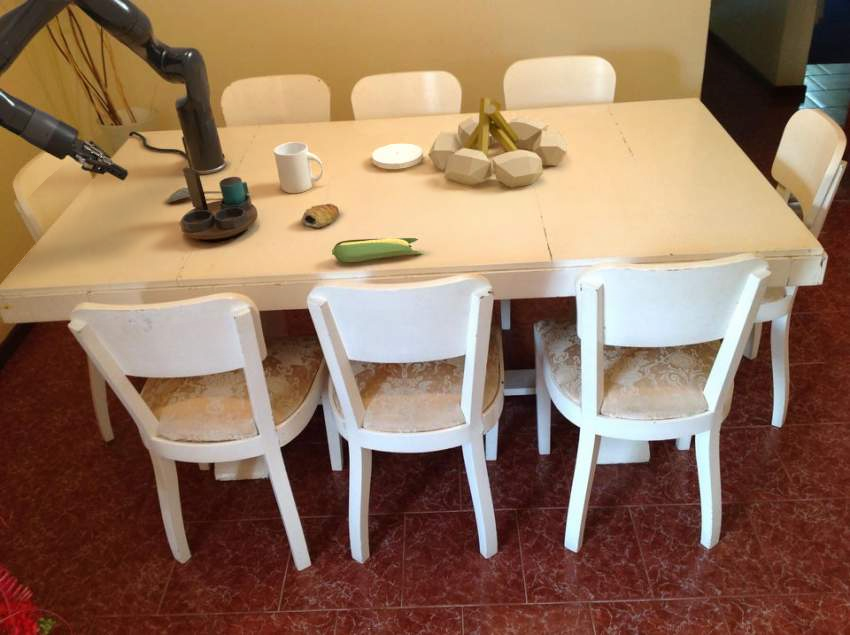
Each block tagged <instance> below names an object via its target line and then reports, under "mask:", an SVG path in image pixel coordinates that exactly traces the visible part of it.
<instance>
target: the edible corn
mask: <svg viewBox="0 0 850 635" xmlns="http://www.w3.org/2000/svg"><path fill="white" fill-rule="evenodd" d="M418 240H419V238H415V237H393V238H364V239H363V238H362V239H348V240H342V241H339V242H337V243H336V244H335V245H334V246H333V249H331V254H332V255H331V256H334V257H335V259H336V260H338V261H339V262H340V263H343V264H354V263H360V262H361V263H362V262H368V261H374V260H380V259H386V258H394V257H395V258H396V257H401V256H402V257H403V256H411V255H420V254H424V253H425V251H424V250H413V246H412V245H410V244H412V243H415V242H416V241H417V242H418Z"/></svg>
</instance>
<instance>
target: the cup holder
mask: <svg viewBox="0 0 850 635" xmlns="http://www.w3.org/2000/svg"><path fill="white" fill-rule="evenodd" d="M182 173H183V176H184V179H185V182H186V183H185V184H186V186H187V187H186V188H188V190H189V194H190V196H189V197H190V201H191V204H192V207H193V209H190V210H189V211H187V212H186V213H185V214H184V215H183V216H181V219H180V222H179V227H180V229H181V232H182V234H184V235H185V236H187V237H189V238H192V239H196V240H198V239H217V238H223V237H227V236H231V235H234V234H237V233H239V232H241V231H243V230H245V229H247V228H248V227H249V228H250V227H252V226H253V225H254V223H255V222H256V221H257V219H258V216H259V215H258V209H257V207H256V206H255V205H254V204H253V203H252V199H251V196H248V195H246V194H247V193H249V192H250V191H249V187H248V184H247V181H243V180H242V177H239V176H229V177H225V178H222V179H221V180H220V181H219V183H218V184H219V188H220V191H221V192H222V193H221V195H222V198H221V199H220V200H215V201H211V202H207V199H206V194H204V192H205V190H204V187H203V184H202V180H201V177H200V174H199V172H198V171H195V170H193V169H190V167H189V166H188V167H187V166H185V167H183V168H182ZM249 228H248V229H249Z"/></svg>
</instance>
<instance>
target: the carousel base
mask: <svg viewBox="0 0 850 635" xmlns="http://www.w3.org/2000/svg"><path fill="white" fill-rule="evenodd" d="M249 228H250V227H248V228H247V229H245V230H243V231H241V232H239V233H237V234H234V235H231V236H227V237H223V238H217V239H197V240H198V241H200V242H203V243H209V244H215V243H216V244H217V243H224V242H228V241H231V240H235V239H237V238H239V237H241V236H242V235H243V234H245V233H246V232H247V231H248V230H249Z"/></svg>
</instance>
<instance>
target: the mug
mask: <svg viewBox="0 0 850 635" xmlns="http://www.w3.org/2000/svg"><path fill="white" fill-rule="evenodd" d="M273 153H274V159H275V163H276V169H277V173H278V179H279V184H280V188H281V189H282V191H284V193H287V194H288V193H289V194H300V193H303V192H306V191H309V190H311V189H312V188H313V186H314V183H317V182H319V181H320V180H321V179H322V178H323V175H324V166H323V163H322V161H321V159H320V158H319V157H318V156H317V155H315V154H314V153H311V152H309V147H308V145H307V144H306V143H305V142H301V141H291V142H286V143H282V144H279V145H278V146H276V147H274V148H273ZM311 161H314V162H317V163H318V164H319V165H320V168H321V171H320V174H318V175H314V174H313V170H312V164H311Z"/></svg>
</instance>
